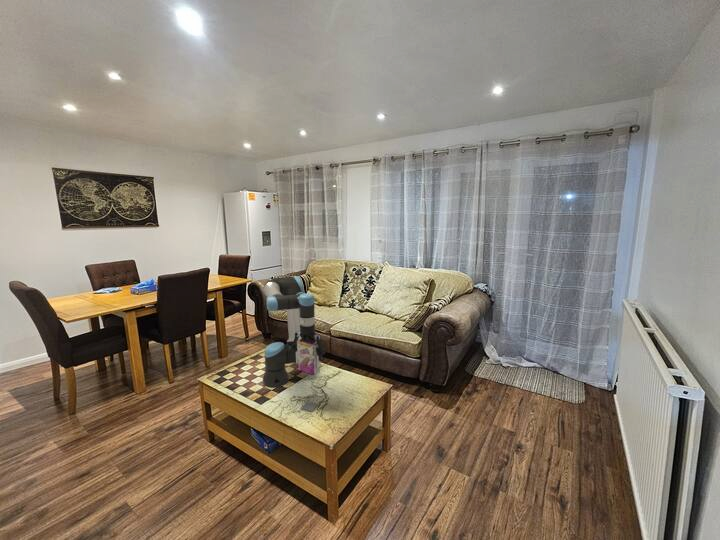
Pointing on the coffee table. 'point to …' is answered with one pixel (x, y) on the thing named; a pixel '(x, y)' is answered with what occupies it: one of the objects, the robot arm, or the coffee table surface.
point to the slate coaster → (309, 406)
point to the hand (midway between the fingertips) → (308, 364)
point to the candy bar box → (307, 357)
